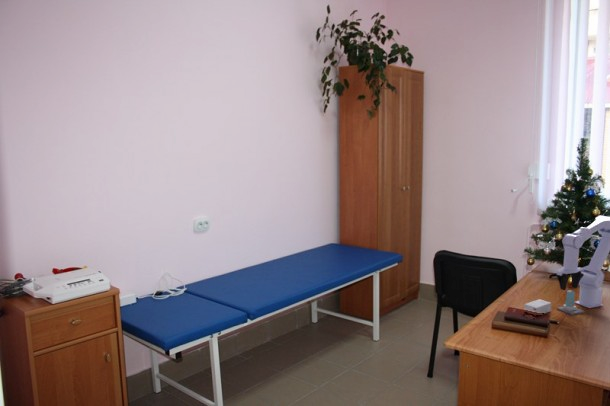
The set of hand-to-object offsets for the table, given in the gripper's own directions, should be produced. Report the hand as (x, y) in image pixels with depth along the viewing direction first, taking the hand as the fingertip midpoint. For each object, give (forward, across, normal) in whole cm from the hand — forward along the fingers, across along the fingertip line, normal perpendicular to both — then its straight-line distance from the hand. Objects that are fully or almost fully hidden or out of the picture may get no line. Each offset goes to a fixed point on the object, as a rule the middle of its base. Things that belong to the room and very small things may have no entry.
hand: (568, 288), depth 217 cm
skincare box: (+8, +10, -3) cm, 13 cm away
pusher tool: (+9, +1, +2) cm, 9 cm away
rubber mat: (+10, +1, +2) cm, 10 cm away
